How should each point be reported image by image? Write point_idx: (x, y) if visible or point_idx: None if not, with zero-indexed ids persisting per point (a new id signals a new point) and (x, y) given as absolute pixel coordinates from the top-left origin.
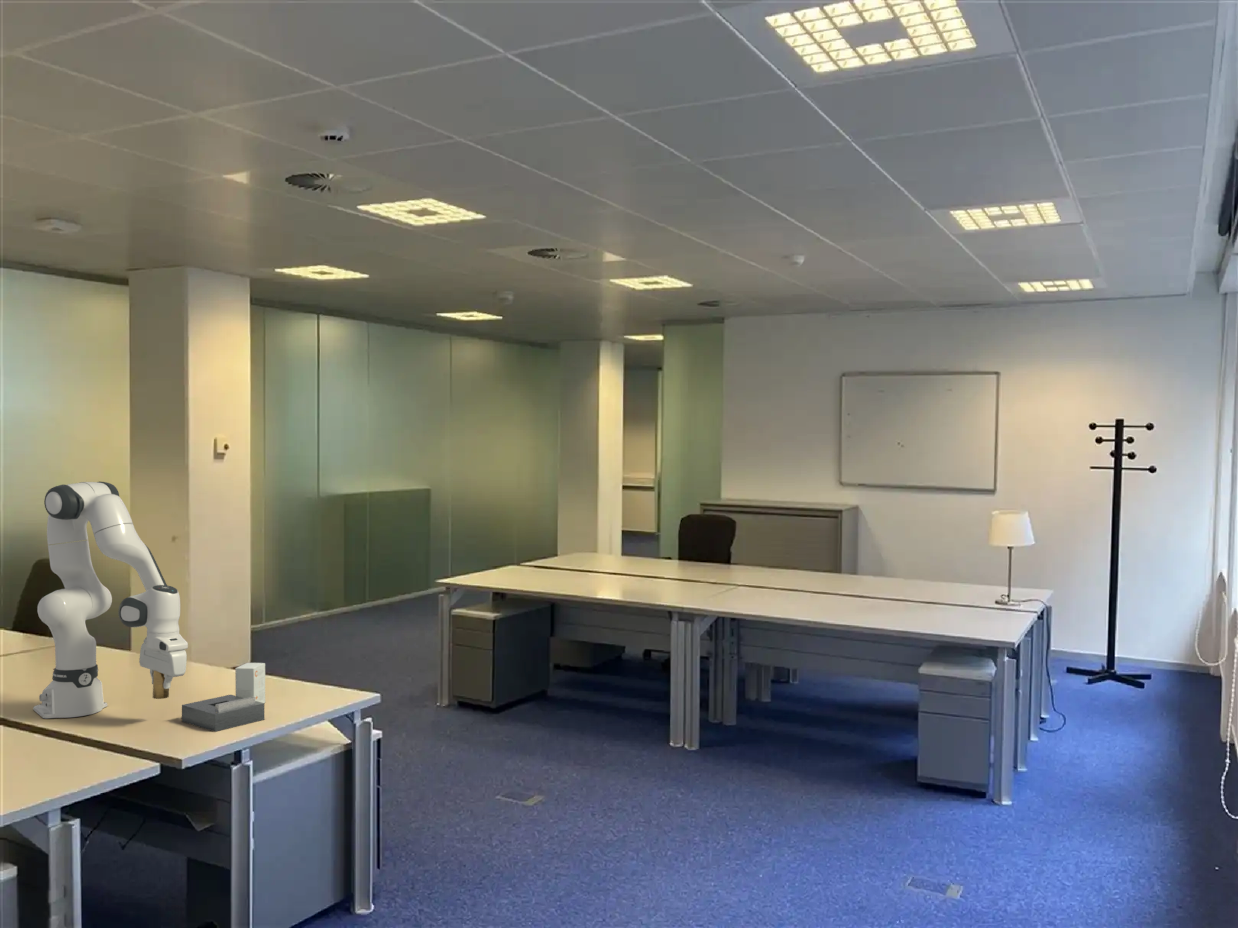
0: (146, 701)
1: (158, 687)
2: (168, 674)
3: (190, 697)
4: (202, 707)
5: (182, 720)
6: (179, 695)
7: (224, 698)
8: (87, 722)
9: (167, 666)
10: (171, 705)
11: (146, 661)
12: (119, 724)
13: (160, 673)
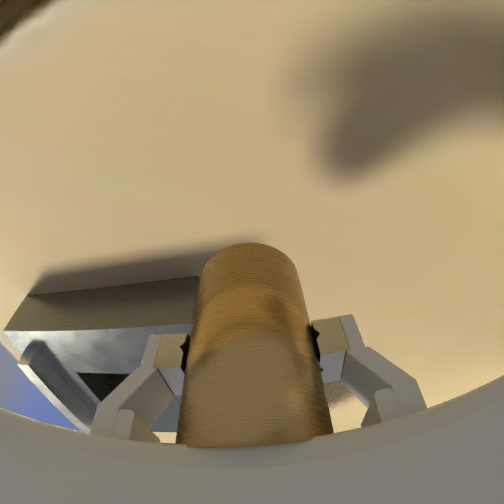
0: (497, 273)
1: (200, 315)
2: (22, 422)
3: (433, 354)
4: (100, 349)
5: (192, 279)
6: (465, 339)
7: None
8: (455, 35)
9: (16, 487)
10: (421, 309)
11: (490, 455)
12: (347, 80)
13: (179, 435)
